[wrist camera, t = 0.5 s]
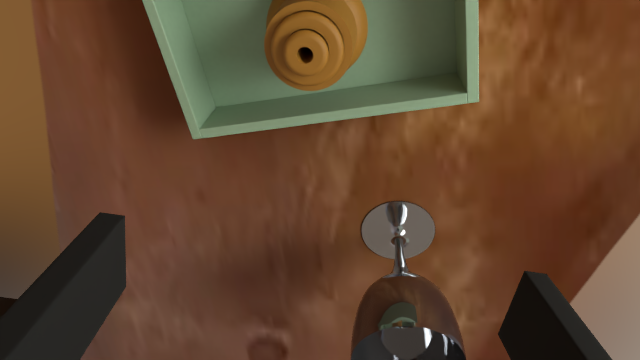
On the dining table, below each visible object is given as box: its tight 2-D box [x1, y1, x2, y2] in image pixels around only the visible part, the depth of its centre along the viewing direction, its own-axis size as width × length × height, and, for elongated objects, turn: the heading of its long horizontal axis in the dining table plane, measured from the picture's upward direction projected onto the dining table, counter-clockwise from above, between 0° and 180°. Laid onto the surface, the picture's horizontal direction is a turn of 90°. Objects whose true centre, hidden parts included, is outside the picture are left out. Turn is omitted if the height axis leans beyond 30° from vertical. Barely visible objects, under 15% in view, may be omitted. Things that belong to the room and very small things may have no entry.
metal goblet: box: [351, 201, 466, 360], centre depth 37 cm, size 8×8×15 cm
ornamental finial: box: [264, 0, 368, 91], centre depth 31 cm, size 8×8×8 cm
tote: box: [142, 0, 479, 139], centre depth 32 cm, size 22×12×5 cm, turn 101°
